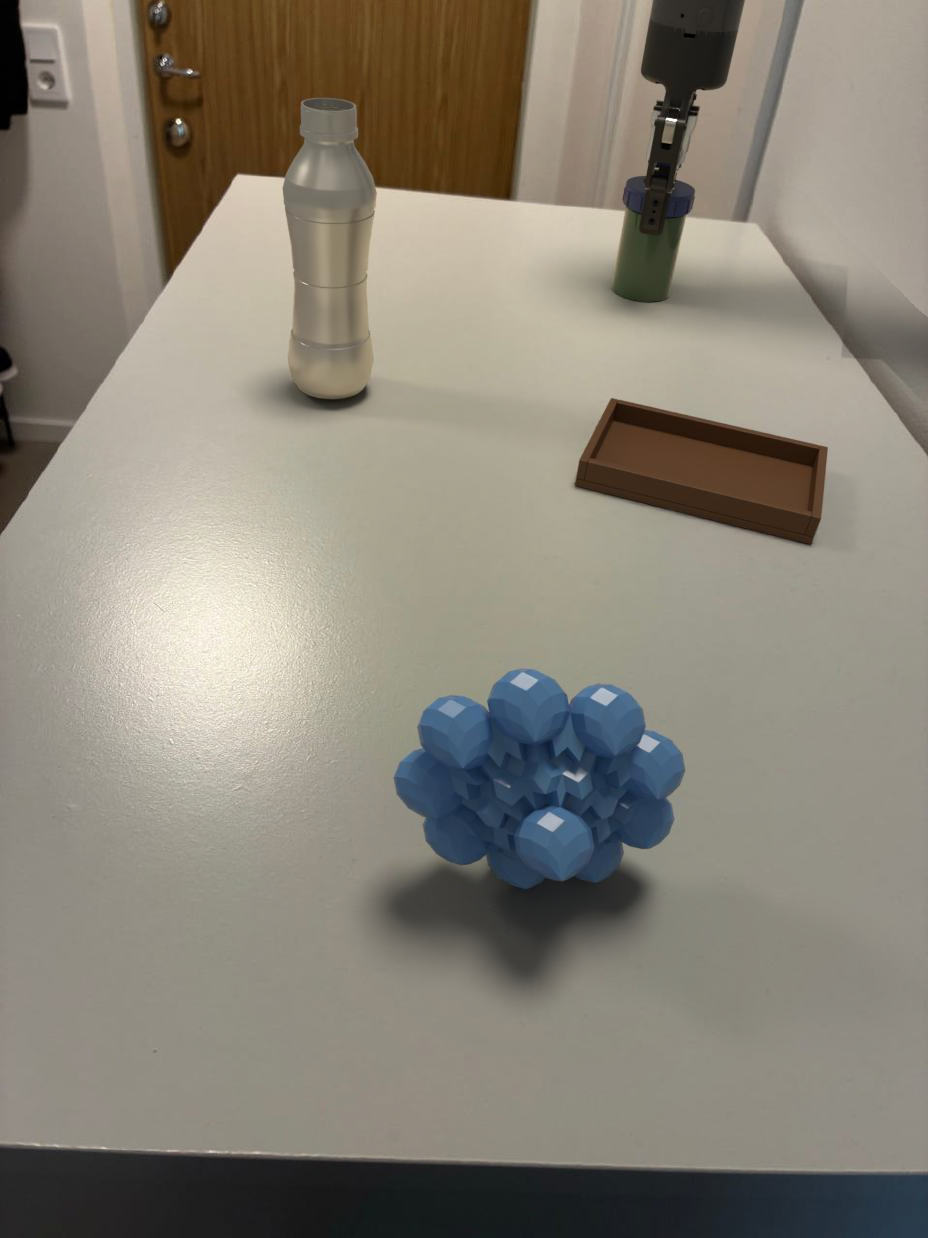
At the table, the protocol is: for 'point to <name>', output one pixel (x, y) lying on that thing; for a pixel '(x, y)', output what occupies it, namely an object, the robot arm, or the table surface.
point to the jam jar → (646, 259)
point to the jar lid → (678, 200)
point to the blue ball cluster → (540, 779)
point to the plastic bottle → (329, 252)
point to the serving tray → (706, 469)
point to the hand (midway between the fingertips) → (653, 221)
